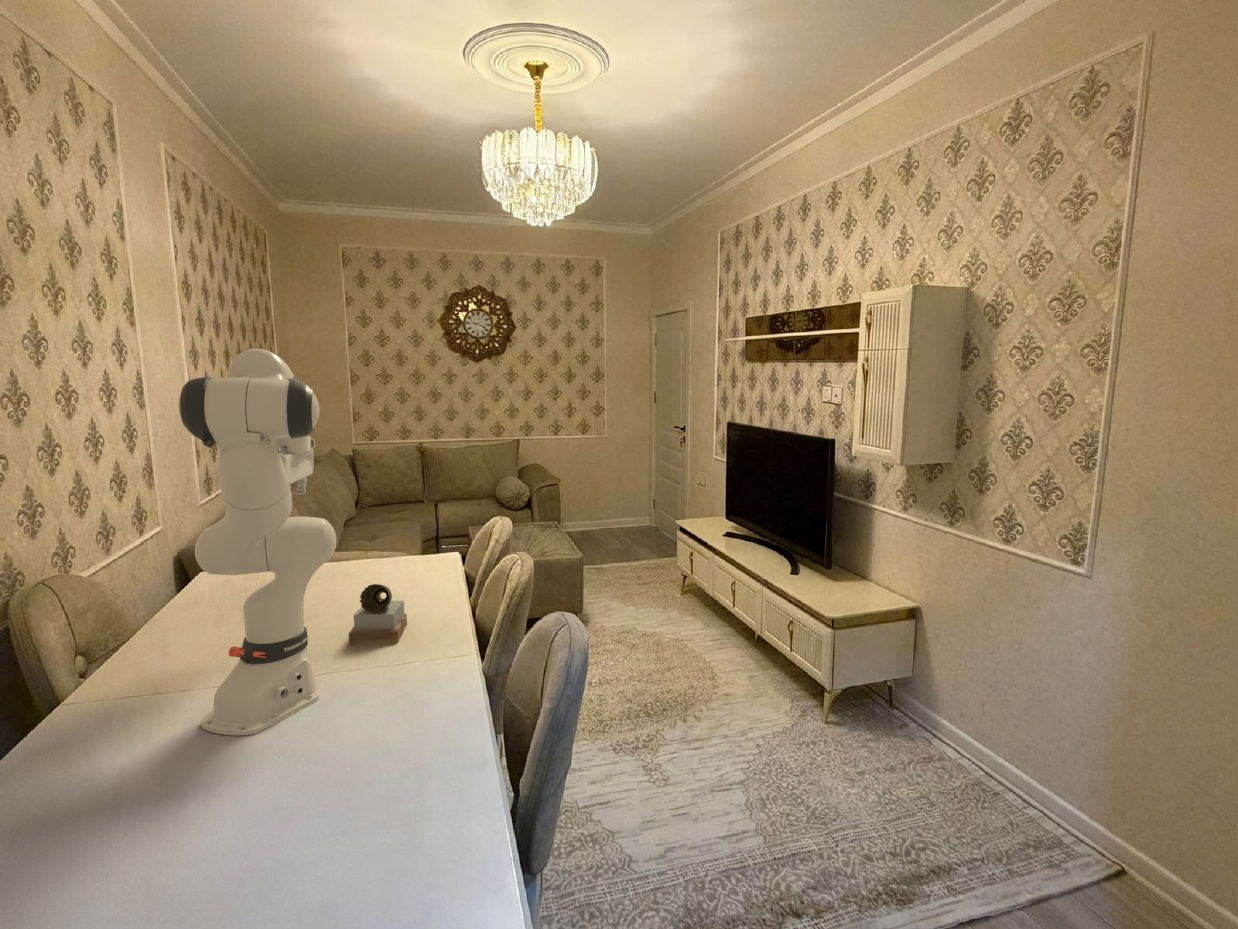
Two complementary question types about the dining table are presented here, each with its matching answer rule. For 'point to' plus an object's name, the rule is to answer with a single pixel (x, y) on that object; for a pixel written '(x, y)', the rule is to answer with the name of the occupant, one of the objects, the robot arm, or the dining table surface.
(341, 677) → the dining table surface
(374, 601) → the cup
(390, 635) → the tower base
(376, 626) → the tower top
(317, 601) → the dining table surface
